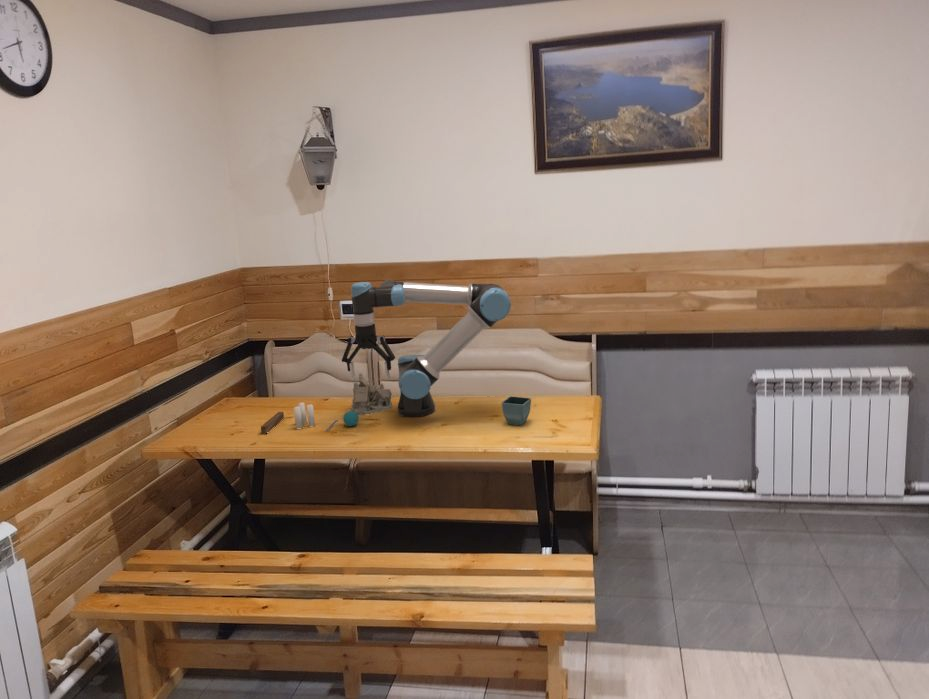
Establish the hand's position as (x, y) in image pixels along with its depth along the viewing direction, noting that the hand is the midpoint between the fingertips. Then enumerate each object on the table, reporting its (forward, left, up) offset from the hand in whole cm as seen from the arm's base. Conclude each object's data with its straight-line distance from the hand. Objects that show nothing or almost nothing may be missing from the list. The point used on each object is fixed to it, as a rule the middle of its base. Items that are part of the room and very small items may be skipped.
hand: (370, 379), depth 294 cm
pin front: (+25, 0, -19) cm, 31 cm away
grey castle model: (+7, -20, -19) cm, 29 cm away
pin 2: (+30, -2, -19) cm, 35 cm away
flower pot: (-55, -2, -19) cm, 58 cm away
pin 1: (+30, +3, -19) cm, 35 cm away
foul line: (+17, 0, -19) cm, 25 cm away
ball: (+9, 0, -16) cm, 18 cm away
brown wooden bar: (+41, 0, -19) cm, 45 cm away
